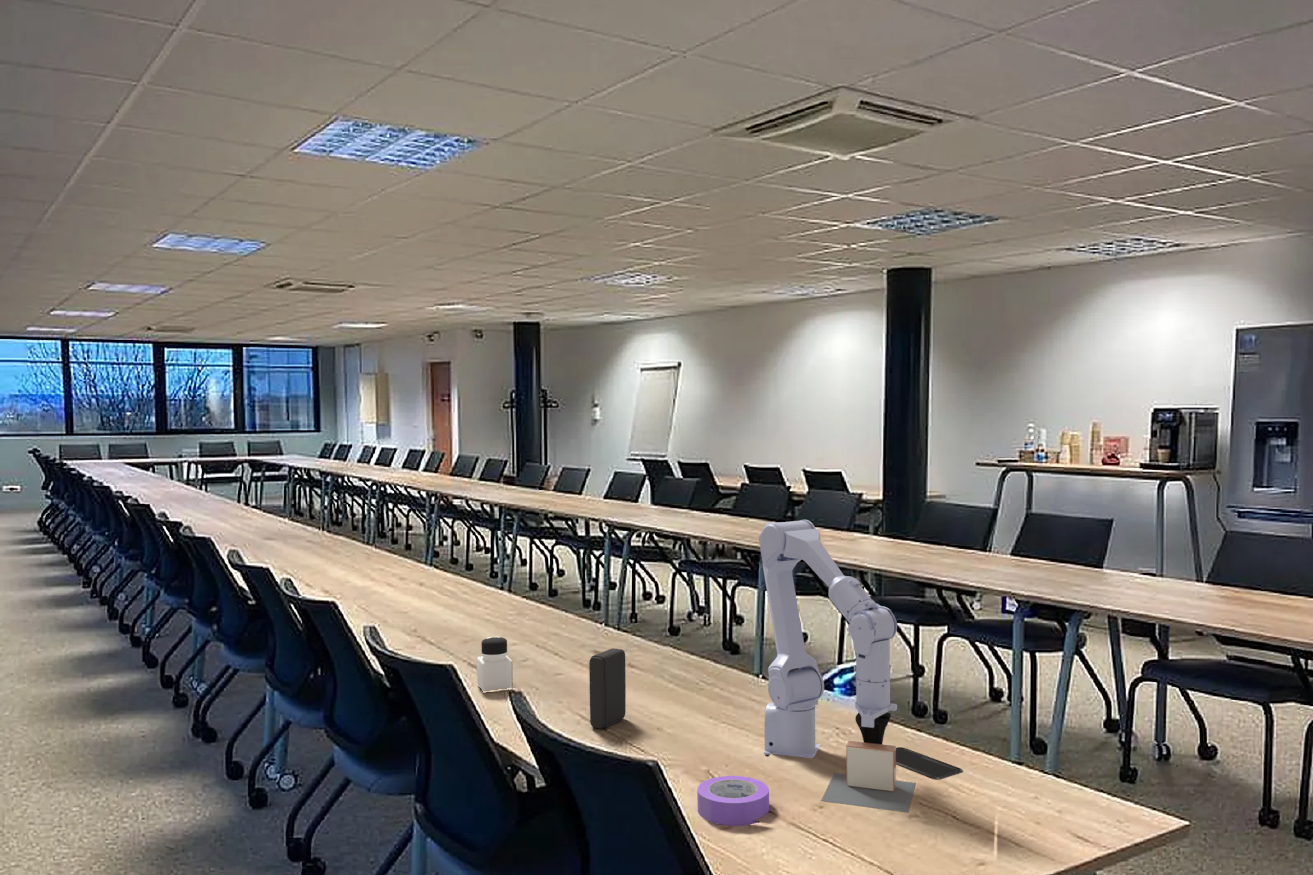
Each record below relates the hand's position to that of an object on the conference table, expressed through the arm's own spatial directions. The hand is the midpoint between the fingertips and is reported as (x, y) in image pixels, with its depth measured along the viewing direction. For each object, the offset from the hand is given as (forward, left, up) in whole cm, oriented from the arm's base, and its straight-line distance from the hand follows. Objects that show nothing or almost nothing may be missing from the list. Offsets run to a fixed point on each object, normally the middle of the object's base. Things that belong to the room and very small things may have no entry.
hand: (873, 756), depth 163 cm
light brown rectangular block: (0, -2, -4) cm, 5 cm away
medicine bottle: (-93, +31, -5) cm, 98 cm away
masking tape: (-20, -18, -5) cm, 28 cm away
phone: (+6, +12, -6) cm, 14 cm away
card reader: (-57, +16, -5) cm, 59 cm away
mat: (0, -5, -5) cm, 7 cm away
